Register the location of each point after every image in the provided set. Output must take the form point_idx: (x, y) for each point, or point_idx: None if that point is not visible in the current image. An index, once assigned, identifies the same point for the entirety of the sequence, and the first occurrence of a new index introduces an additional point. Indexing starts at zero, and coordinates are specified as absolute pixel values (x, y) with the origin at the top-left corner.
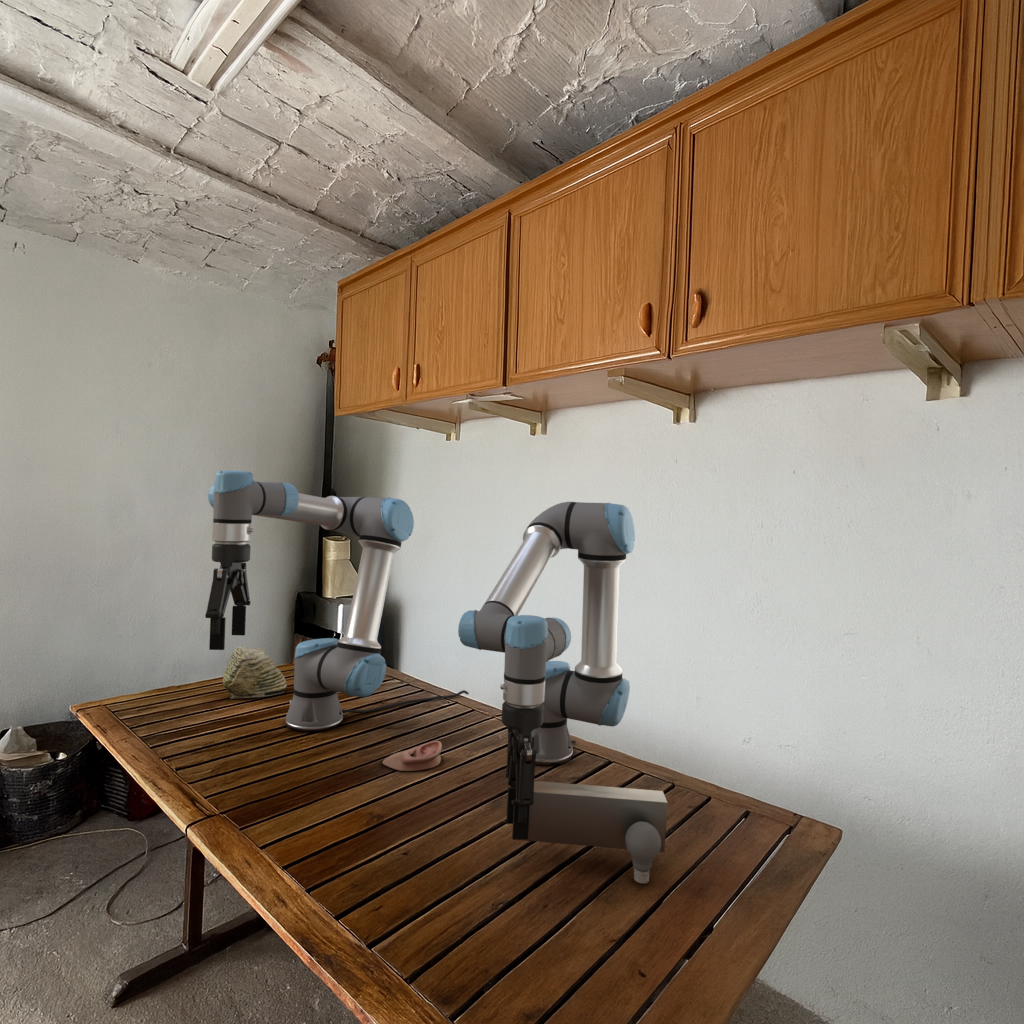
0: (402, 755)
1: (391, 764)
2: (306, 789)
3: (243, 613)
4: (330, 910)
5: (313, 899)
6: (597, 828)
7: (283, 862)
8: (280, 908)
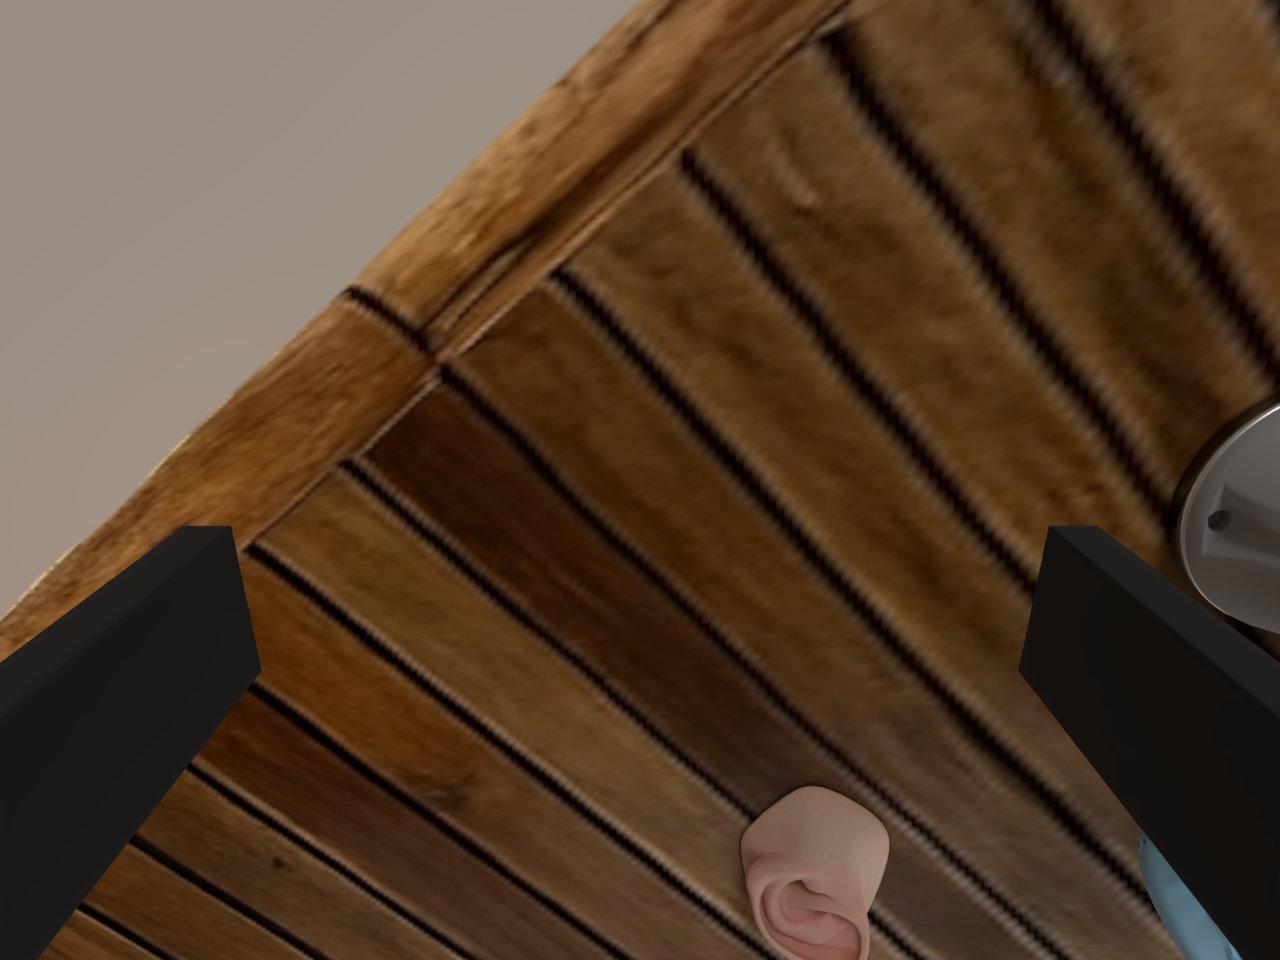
0: (777, 869)
1: (775, 817)
2: (622, 593)
3: (1237, 917)
4: None
5: None
6: None
7: None
8: (7, 652)
